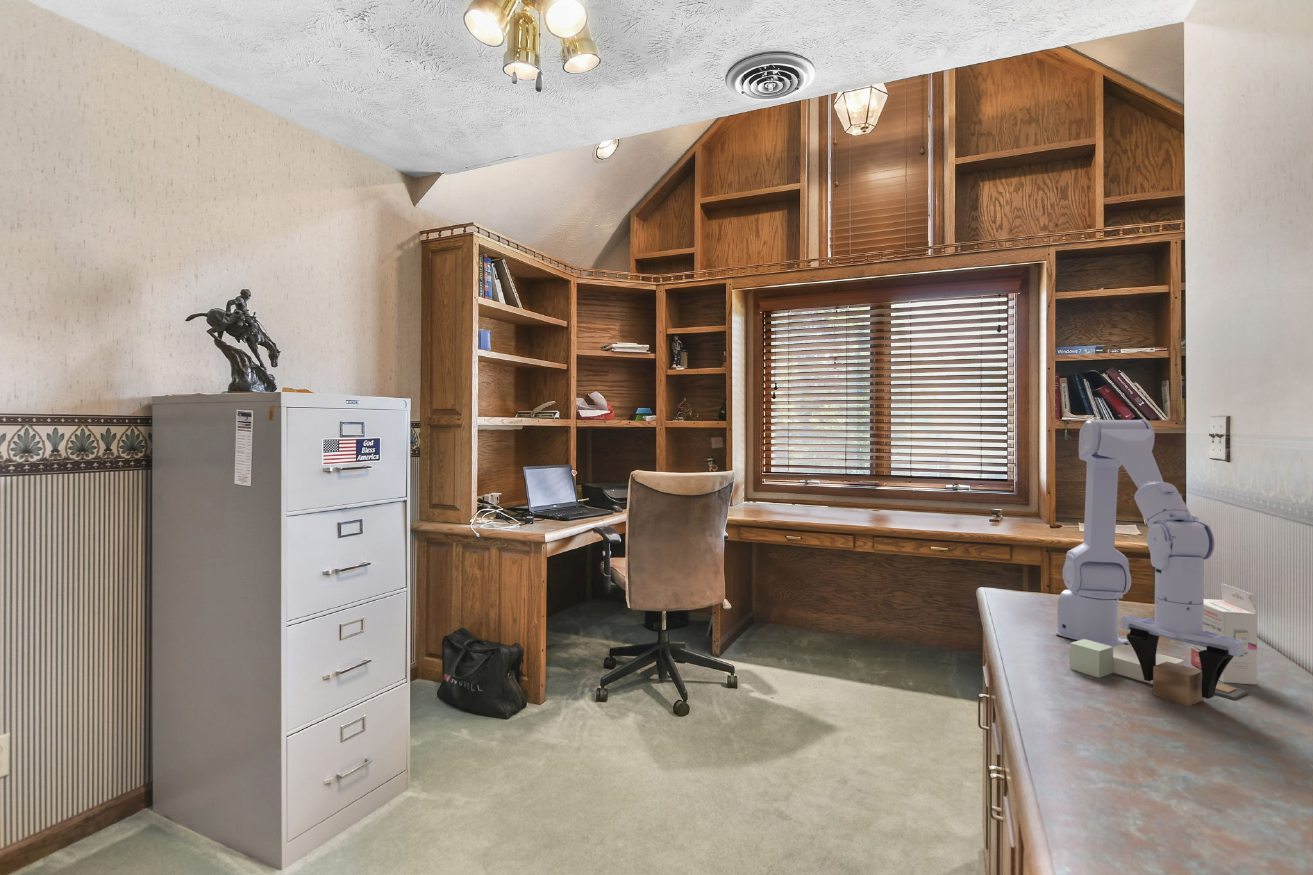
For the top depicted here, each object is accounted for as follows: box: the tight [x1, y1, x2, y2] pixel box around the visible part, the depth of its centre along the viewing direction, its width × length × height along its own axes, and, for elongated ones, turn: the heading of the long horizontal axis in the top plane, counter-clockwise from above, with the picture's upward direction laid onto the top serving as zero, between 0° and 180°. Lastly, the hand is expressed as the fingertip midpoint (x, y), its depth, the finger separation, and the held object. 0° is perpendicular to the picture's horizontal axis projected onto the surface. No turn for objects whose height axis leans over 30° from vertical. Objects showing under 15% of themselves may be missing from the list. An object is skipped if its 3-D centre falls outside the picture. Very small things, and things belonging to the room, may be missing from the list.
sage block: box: [1069, 639, 1113, 679], centre depth 104 cm, size 4×4×4 cm
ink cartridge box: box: [1190, 582, 1258, 685], centre depth 103 cm, size 9×5×15 cm, turn 168°
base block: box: [1112, 643, 1185, 685], centre depth 104 cm, size 9×9×3 cm
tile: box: [1214, 682, 1249, 701], centre depth 96 cm, size 5×5×1 cm
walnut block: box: [1152, 661, 1204, 707], centre depth 94 cm, size 4×4×4 cm
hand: (1177, 687), depth 94 cm, fingers open, 7 cm apart
